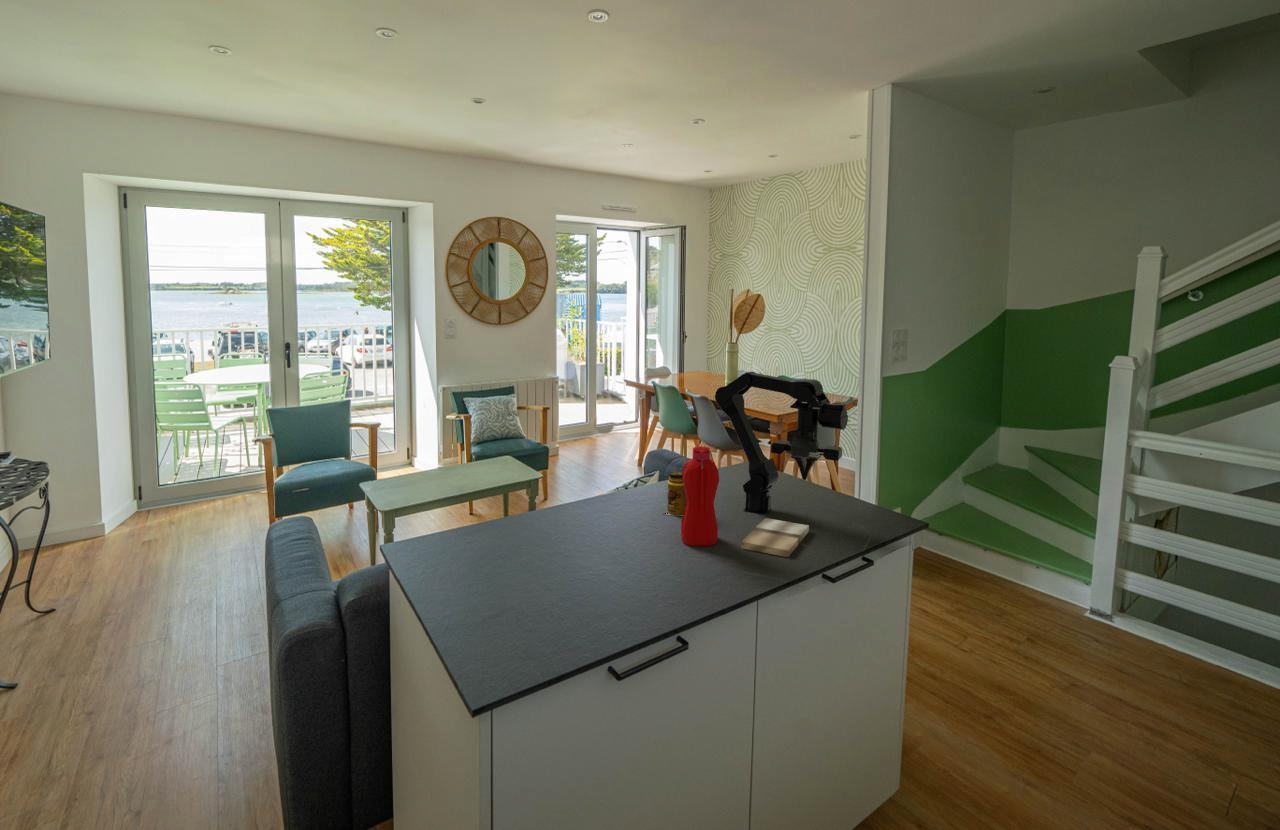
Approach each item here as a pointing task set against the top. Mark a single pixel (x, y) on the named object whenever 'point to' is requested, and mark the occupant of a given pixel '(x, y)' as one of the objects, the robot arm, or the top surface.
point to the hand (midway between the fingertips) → (804, 479)
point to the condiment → (676, 494)
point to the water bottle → (700, 499)
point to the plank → (783, 528)
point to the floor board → (770, 543)
